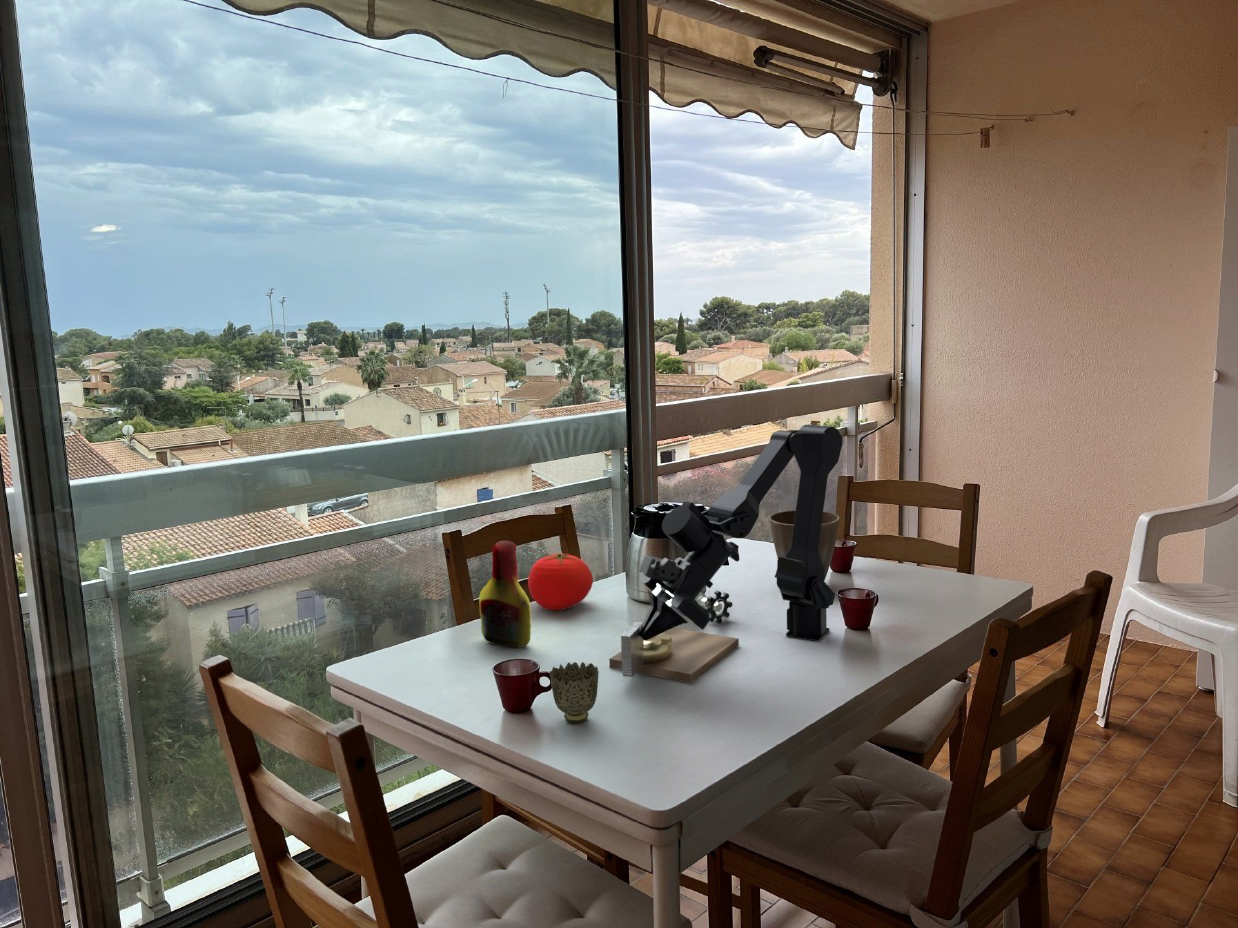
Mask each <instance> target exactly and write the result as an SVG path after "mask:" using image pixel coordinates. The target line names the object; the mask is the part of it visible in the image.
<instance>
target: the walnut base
mask: <svg viewBox="0 0 1238 928" xmlns="http://www.w3.org/2000/svg"><path fill="white" fill-rule="evenodd" d="M663 633H664V634H667V635H669V636H670V637H671V638H672V652H673V653H672V655H671V656H670V657H669V658H667V659H665V660H662V661H658V662H651V663H643V664H642V666H641V667H640V668H639V669H638V670H637V672H636V673H639V674H644V675H649V676H654V677H660V678H663V679H670V680H674V681H678V682H679V681H681V682H685V683H689V684H692V683H694V681H695V680H697V679H699V678H700V677H701V676H702V675H703V674H705V673H706V672H707V671H708V670H710V669H712V667H714V666H715V665H716V664H718V663H719V662H720V661H722V660H723V659H724V658H726V657H727V656H728V655H730V653H732V652H734V651H735V650H736V649H737V648H739V646H740V640H739V638H738V637H732V636H724V635H719V634H714V633H709V632H708V633H707V632H702V631H701V632H700V631H694V630H689V629H682V628H677V627H674V628H672V629H669V630H667V631H665V632H663ZM608 663H609V668H613V669H618V670H622V655H621V651H620V652H618V653H617V654H614V655H613V656H612V657H610V658H609V662H608Z"/></svg>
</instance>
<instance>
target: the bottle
mask: <svg viewBox="0 0 1238 928" xmlns="http://www.w3.org/2000/svg"><path fill="white" fill-rule="evenodd" d="M491 554H492V572H491V578H490V579H489V581H488V582H487V583H486V585H484V586H483V588H481V591H480V593H479V596H478V600H479V601H478V602H479V603H478V605H479V616H480V624H481V628H480V629H481V633H482V636H483V638H484V640H485V641H486V642H488V643H492V644H496V645H499V646H503V647H506V648H512V649H517V648H522V647H525V646H527V645H529V643H530V642H531V634H532V633H531V631H532V630H531V629H532V624H531V619H532V617H531V613H532V610H531V603H530V599H529V597H528V595H527V594H526V592H525V591H524V589H523V587H522V586H521V585H520V583H519V573H518V559H517V544H516V543H514V542H512V541H510V540H500V541H497V542H496V543H495V544H494V545H493V548H492V553H491Z"/></svg>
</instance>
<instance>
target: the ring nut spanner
mask: <svg viewBox="0 0 1238 928" xmlns="http://www.w3.org/2000/svg"><path fill="white" fill-rule="evenodd" d="M643 623H644V622H642V621H641V622H639V621H634V622H633V623H632V624H631V625H629V627H628V628H626V630H625V631H624V632H623V633H622V634H621V636H620V650H621V651H620V652H621V655H622V669H621V670H622V677H626V678H633V677H634V675H635V674H636V673H638V672H637V670H638V669H639V668H640V667H641V666H642V664H643V663H651V662H658V661H662V660H665V659H667V658H669V657H670V656H671V655H672V653H673V652H672V638H671V637H670V636H669V635H667V634H664V633H661V634H659V635H657V636H655V637H653V638H651V639H649V640H647V641H645V640H643V639H642V638H641V637H640V636H639V633H640V630H641V628H642V625H643Z"/></svg>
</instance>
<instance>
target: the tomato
mask: <svg viewBox="0 0 1238 928" xmlns="http://www.w3.org/2000/svg"><path fill="white" fill-rule="evenodd" d="M593 580H594V578H593V574H592V572H591V570H590V567H589V566H588V565H587V564H586V562H585V561H584V560H582V559H580V558H579V557H577V556H574V555H572V554H570V553H553V554H549V555H546V556H544V557H542V558H540V559H538V560H537V561H536V562H535V563H534V564H533V565H532V567H531V569H530V570H529V574H528V578H527V585H528V589H529V594H530V595H531V597H532V599H533V600H534V601H535V602H536V604H538V605H539V606H540V607H541V608H543V609H545V610H548V611H562V610H566V609H569V608H572V607H574V606H576V605H578V604H580V603H581V602H582V601H583V600H585V598H586V597H587V596H588V595H589V593H590V591H591V589H592V586H593V583H594V581H593Z"/></svg>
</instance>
